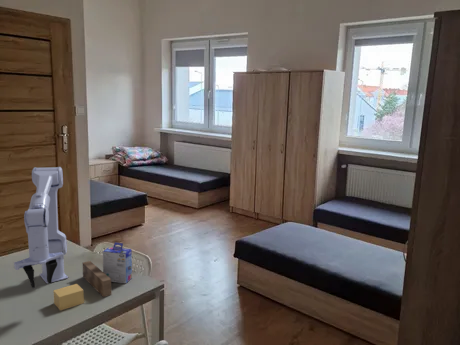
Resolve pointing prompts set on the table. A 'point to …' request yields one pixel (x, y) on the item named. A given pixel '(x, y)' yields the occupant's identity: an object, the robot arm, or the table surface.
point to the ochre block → (68, 296)
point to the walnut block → (97, 278)
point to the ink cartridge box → (118, 263)
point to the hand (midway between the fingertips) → (41, 284)
